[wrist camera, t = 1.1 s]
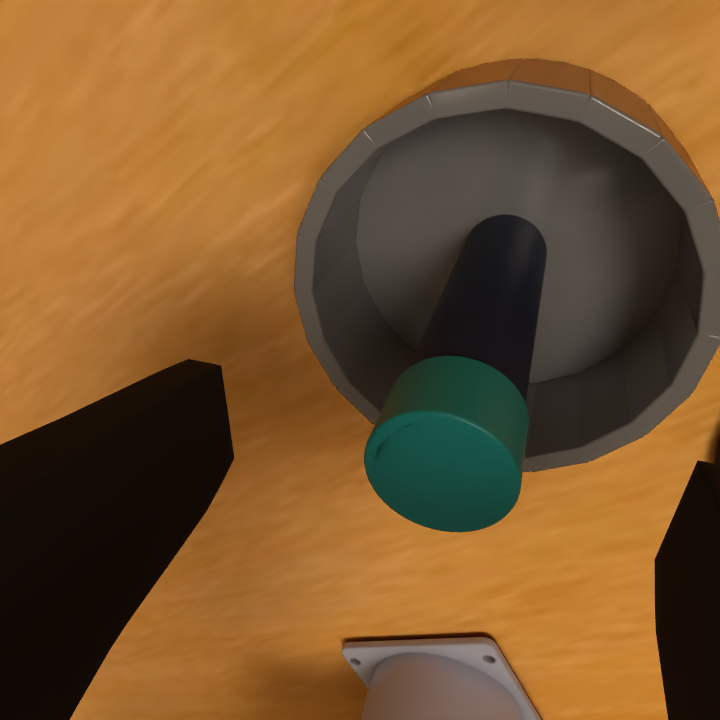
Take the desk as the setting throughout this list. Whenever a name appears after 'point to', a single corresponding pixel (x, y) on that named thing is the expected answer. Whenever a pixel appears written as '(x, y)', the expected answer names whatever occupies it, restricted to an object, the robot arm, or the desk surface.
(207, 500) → the robot arm
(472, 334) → the flashlight
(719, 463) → the coaster
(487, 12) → the desk surface
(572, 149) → the pot
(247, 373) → the desk surface
